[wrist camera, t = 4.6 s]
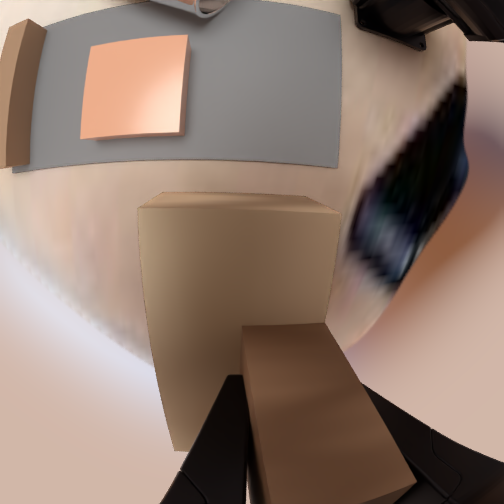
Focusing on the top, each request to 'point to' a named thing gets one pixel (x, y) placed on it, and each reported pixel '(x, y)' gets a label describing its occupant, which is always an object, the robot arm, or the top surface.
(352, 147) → the top surface
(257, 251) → the two-tone stepped block
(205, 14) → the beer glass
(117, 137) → the tile
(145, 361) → the top surface
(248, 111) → the slate board
